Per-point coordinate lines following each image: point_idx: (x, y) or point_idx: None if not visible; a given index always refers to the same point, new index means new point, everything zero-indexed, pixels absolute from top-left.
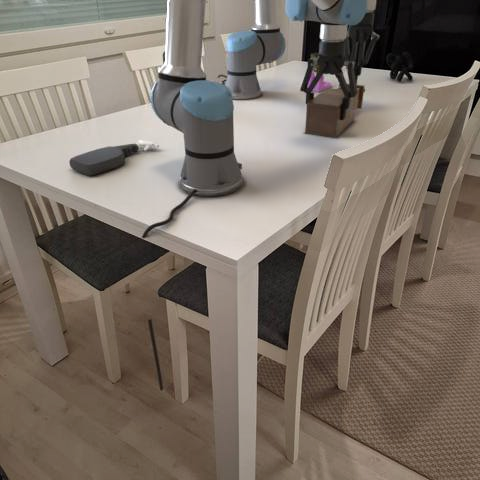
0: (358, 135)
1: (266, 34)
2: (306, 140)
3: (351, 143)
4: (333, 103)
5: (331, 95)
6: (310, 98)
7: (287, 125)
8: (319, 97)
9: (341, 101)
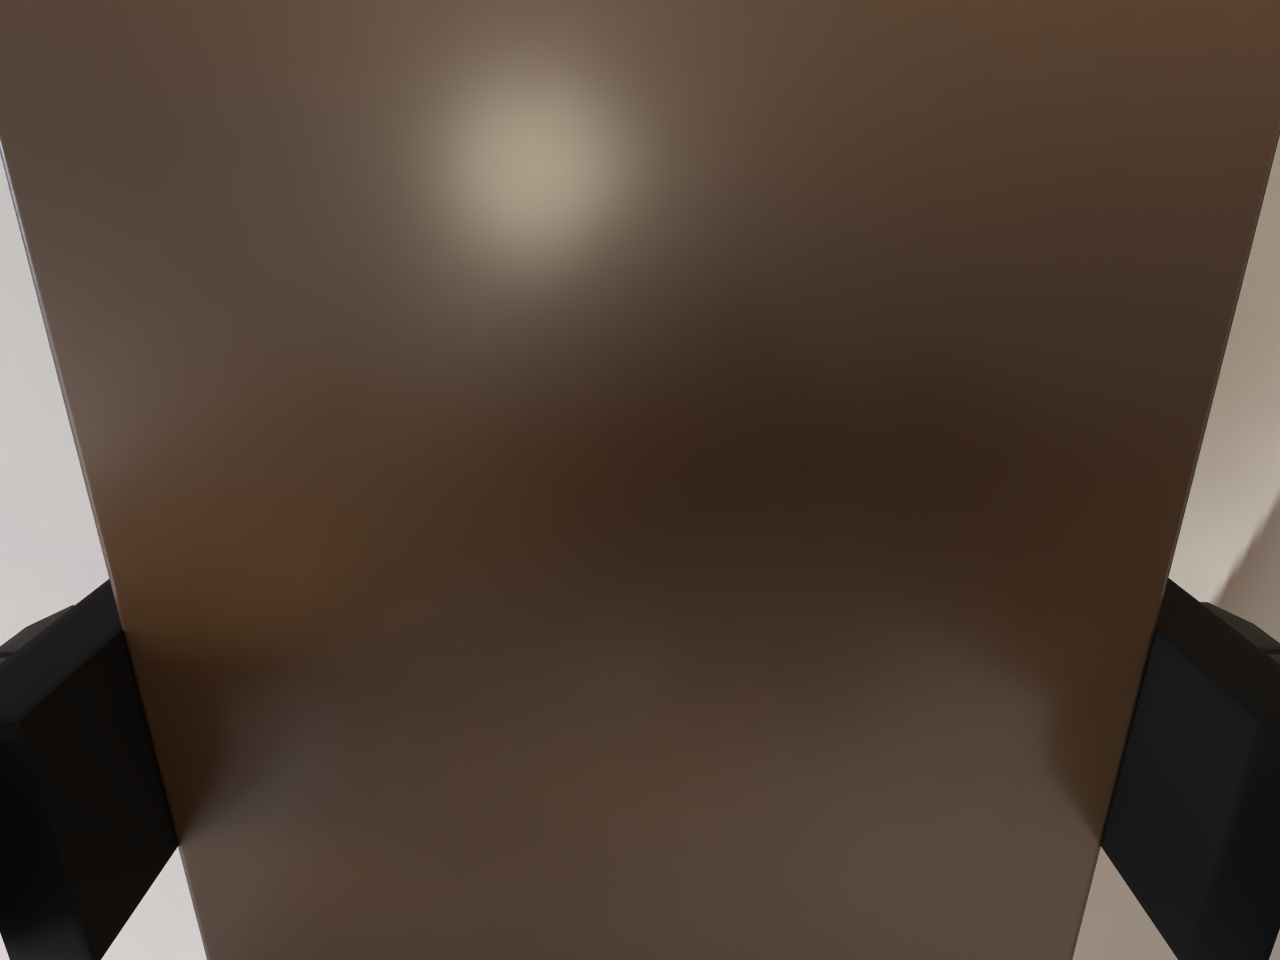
0: None
1: None
2: None
3: None
4: (879, 915)
5: (535, 107)
6: (146, 881)
7: (6, 421)
8: (269, 556)
9: (1062, 685)
